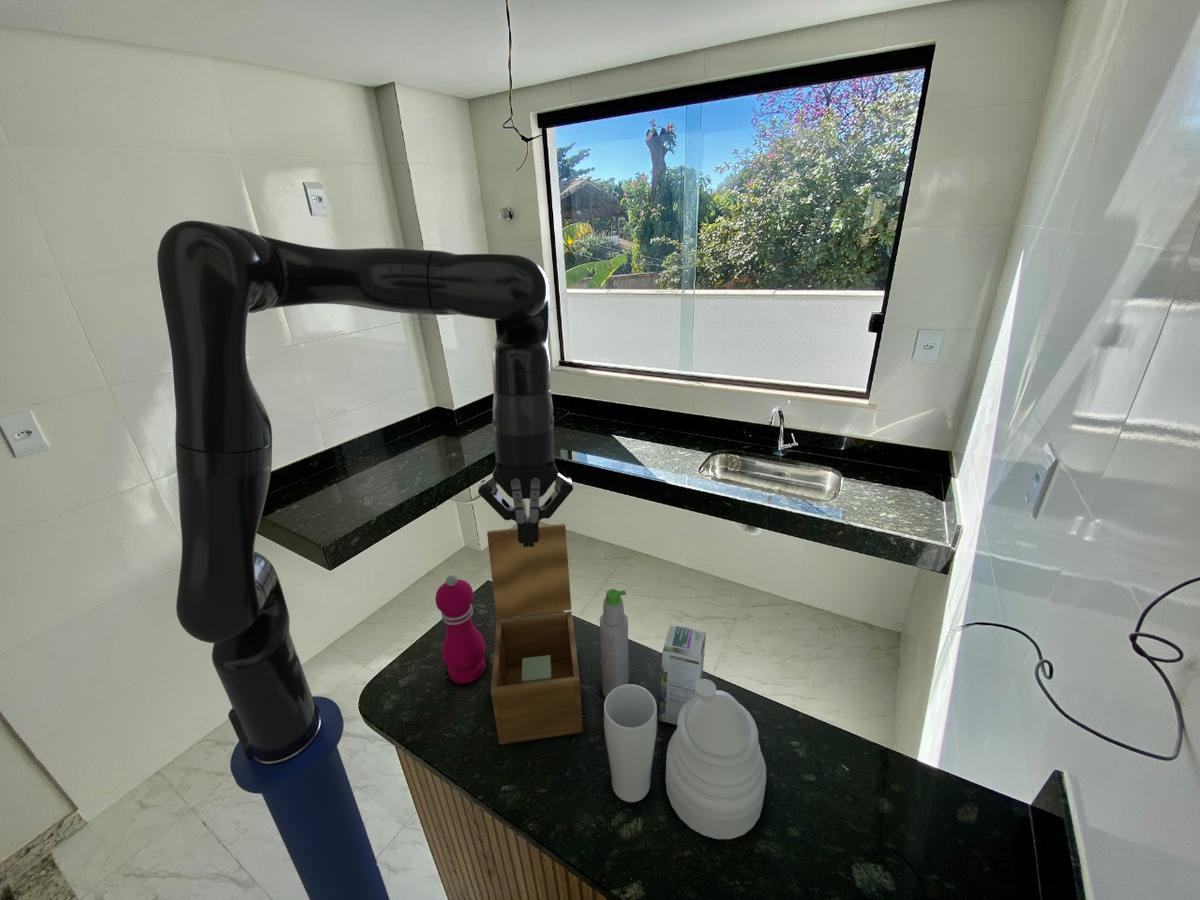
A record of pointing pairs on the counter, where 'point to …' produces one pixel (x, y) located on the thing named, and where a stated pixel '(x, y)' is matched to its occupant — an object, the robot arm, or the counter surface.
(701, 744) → the honey pot
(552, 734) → the keepsake box
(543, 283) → the robot arm
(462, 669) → the pepper mill
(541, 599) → the cover
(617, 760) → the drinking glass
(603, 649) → the bottle
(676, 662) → the syrup box
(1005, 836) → the counter surface
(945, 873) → the counter surface
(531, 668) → the block
